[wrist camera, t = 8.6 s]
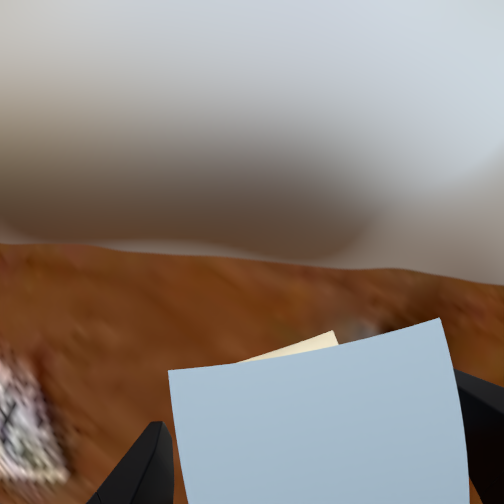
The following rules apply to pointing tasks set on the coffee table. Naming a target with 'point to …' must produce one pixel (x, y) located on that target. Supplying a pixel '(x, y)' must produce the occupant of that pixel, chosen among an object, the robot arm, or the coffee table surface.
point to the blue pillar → (326, 425)
